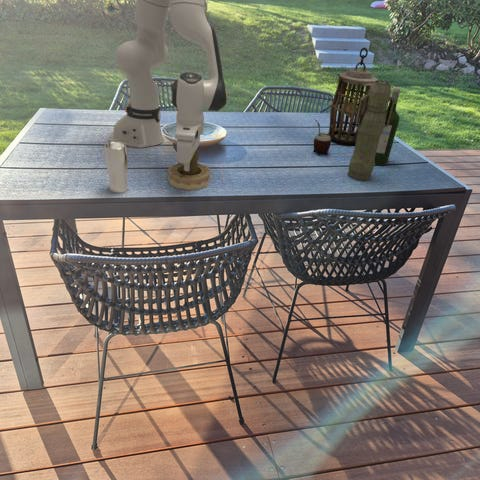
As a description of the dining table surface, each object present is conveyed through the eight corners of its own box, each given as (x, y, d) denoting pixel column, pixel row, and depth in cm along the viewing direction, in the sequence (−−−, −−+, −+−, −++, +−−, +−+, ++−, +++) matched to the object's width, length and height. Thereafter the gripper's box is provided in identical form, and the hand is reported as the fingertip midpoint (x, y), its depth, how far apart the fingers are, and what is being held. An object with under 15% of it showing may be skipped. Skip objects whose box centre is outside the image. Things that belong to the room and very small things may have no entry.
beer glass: (109, 183, 144) (105, 140, 136) (131, 184, 145) (128, 141, 137) (106, 193, 138) (101, 149, 130) (128, 194, 139) (125, 150, 131)
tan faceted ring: (164, 187, 145) (164, 176, 143) (174, 170, 157) (173, 160, 155) (205, 191, 144) (206, 181, 142) (212, 175, 156) (212, 164, 154)
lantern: (319, 142, 195) (337, 46, 174) (328, 130, 211) (346, 41, 189) (362, 150, 190) (386, 53, 168) (368, 138, 205) (390, 47, 184)
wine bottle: (387, 160, 182) (407, 88, 166) (386, 167, 175) (407, 92, 159) (368, 157, 184) (386, 84, 167) (366, 163, 177) (385, 89, 161)
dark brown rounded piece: (196, 186, 148) (197, 155, 142) (179, 183, 149) (179, 152, 143) (201, 179, 153) (202, 149, 147) (185, 176, 154) (185, 146, 148)
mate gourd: (330, 152, 185) (337, 118, 177) (325, 158, 179) (332, 122, 171) (313, 148, 187) (319, 114, 179) (308, 154, 181) (314, 119, 173)
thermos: (340, 171, 168) (360, 78, 149) (368, 171, 170) (391, 79, 151) (348, 181, 161) (371, 84, 142) (377, 181, 163) (403, 86, 144)
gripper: (186, 116, 149) (186, 153, 156) (173, 135, 132) (173, 176, 139) (204, 118, 149) (203, 155, 156) (193, 137, 132) (192, 179, 139)
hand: (189, 166), depth 148 cm, fingers open, 6 cm apart
